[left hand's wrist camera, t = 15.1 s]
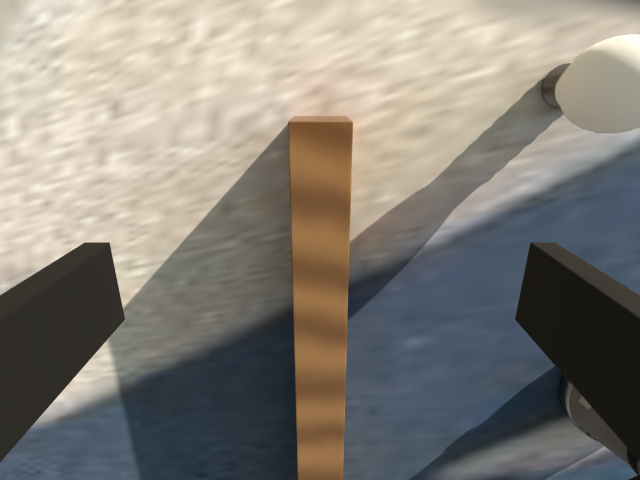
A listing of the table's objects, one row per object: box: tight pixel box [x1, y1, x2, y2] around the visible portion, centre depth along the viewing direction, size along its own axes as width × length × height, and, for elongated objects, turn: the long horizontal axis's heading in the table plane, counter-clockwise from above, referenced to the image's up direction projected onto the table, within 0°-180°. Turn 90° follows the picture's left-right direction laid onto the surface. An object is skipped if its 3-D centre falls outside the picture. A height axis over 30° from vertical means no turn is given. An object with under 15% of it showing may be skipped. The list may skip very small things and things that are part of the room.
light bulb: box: [542, 35, 640, 133], centre depth 30 cm, size 7×7×11 cm
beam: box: [288, 116, 353, 480], centre depth 45 cm, size 74×5×7 cm, turn 0°
